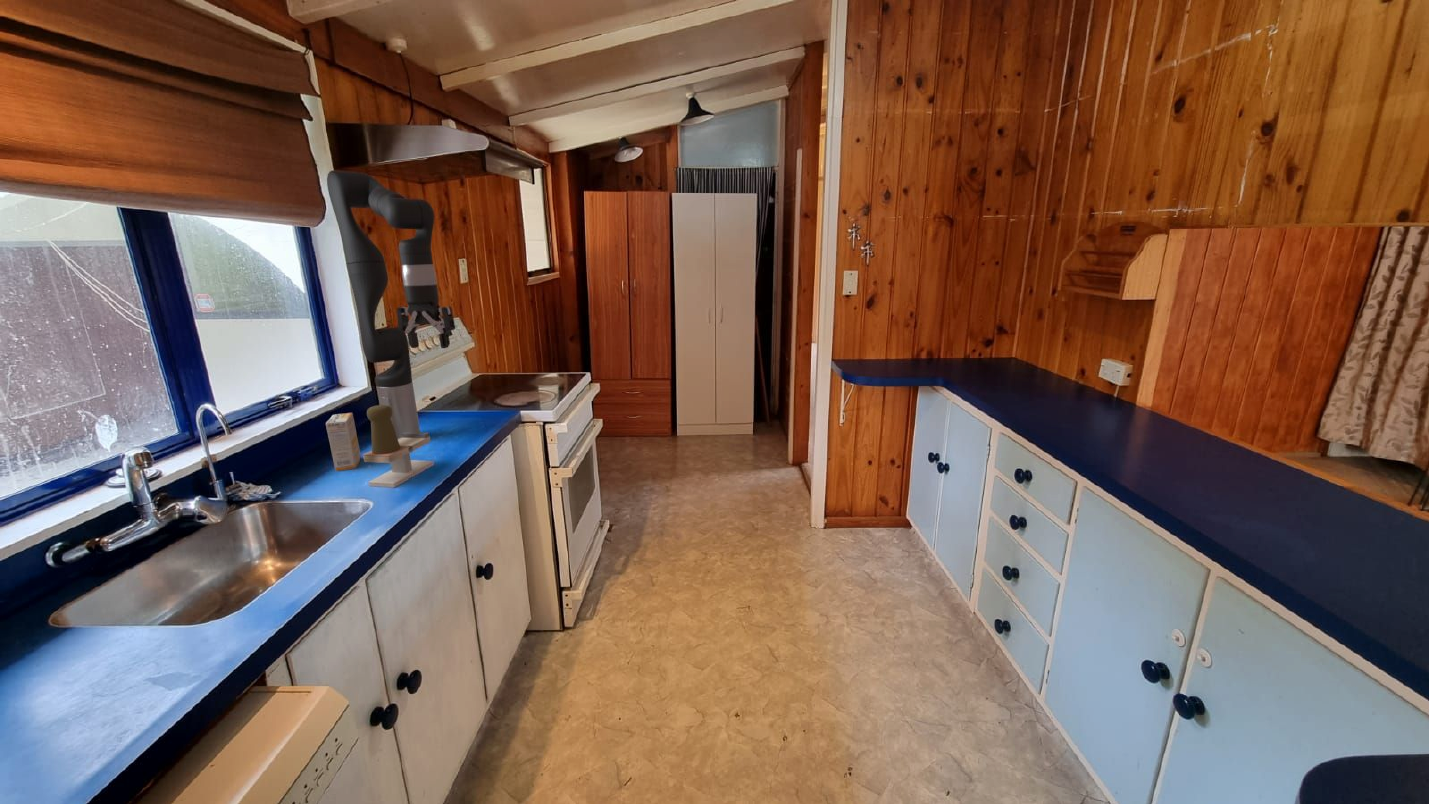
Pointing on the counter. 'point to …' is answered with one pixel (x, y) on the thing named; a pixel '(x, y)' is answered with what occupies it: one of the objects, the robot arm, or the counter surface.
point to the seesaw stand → (401, 472)
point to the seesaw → (407, 445)
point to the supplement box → (343, 441)
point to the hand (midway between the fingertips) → (429, 347)
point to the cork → (382, 430)
